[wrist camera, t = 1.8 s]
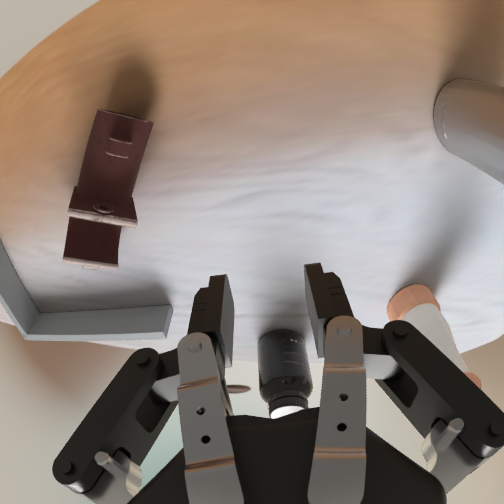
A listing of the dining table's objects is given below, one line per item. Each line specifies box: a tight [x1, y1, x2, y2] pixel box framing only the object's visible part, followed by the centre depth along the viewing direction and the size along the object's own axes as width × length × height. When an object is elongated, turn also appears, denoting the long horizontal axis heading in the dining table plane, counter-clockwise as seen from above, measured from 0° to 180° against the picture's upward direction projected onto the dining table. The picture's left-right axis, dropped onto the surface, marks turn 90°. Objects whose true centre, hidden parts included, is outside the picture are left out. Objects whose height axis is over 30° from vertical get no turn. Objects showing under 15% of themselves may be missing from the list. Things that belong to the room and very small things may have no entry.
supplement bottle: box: [258, 329, 313, 419], centre depth 39 cm, size 7×7×12 cm
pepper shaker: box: [387, 284, 481, 389], centre depth 33 cm, size 7×7×19 cm
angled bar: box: [0, 240, 173, 341], centre depth 32 cm, size 25×28×5 cm
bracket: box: [63, 109, 153, 270], centre depth 28 cm, size 6×17×10 cm, turn 159°
